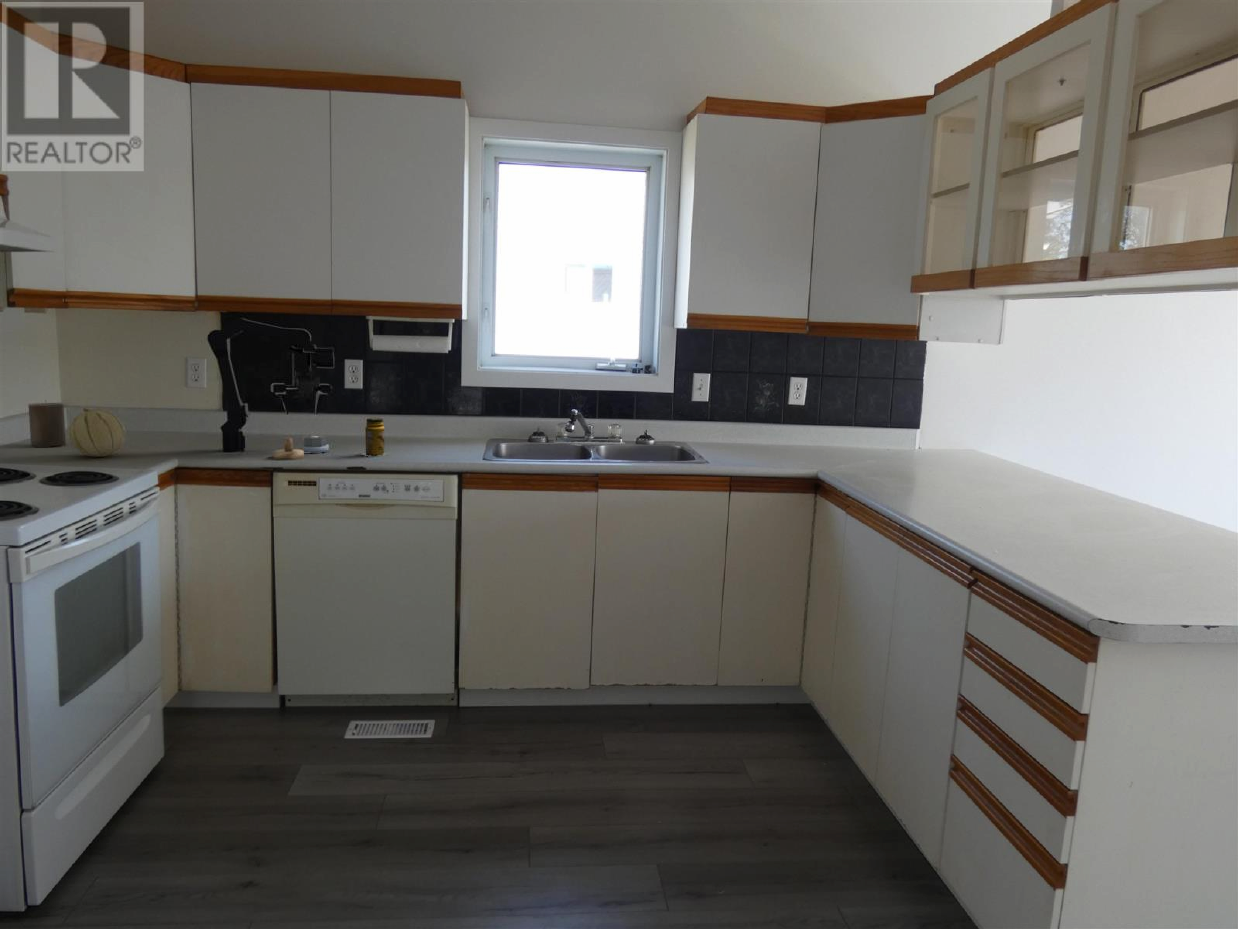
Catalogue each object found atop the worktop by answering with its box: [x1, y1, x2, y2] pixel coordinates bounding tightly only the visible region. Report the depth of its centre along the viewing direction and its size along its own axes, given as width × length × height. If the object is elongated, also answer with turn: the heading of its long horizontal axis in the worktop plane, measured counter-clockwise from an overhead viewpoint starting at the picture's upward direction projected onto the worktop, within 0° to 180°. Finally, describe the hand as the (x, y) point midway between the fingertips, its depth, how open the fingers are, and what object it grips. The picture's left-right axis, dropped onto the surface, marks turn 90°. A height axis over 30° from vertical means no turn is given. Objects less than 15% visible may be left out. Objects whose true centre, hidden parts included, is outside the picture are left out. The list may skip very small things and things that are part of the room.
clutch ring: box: [302, 434, 327, 447], centre depth 293 cm, size 7×7×3 cm
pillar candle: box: [27, 399, 67, 448], centre depth 286 cm, size 10×10×15 cm
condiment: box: [355, 417, 390, 458], centre depth 290 cm, size 7×8×12 cm
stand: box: [273, 437, 305, 461], centre depth 279 cm, size 9×9×6 cm
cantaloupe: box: [68, 407, 126, 458], centre depth 269 cm, size 15×15×15 cm
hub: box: [299, 436, 330, 454], centre depth 293 cm, size 9×9×5 cm
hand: (302, 414), depth 294 cm, fingers open, 9 cm apart
